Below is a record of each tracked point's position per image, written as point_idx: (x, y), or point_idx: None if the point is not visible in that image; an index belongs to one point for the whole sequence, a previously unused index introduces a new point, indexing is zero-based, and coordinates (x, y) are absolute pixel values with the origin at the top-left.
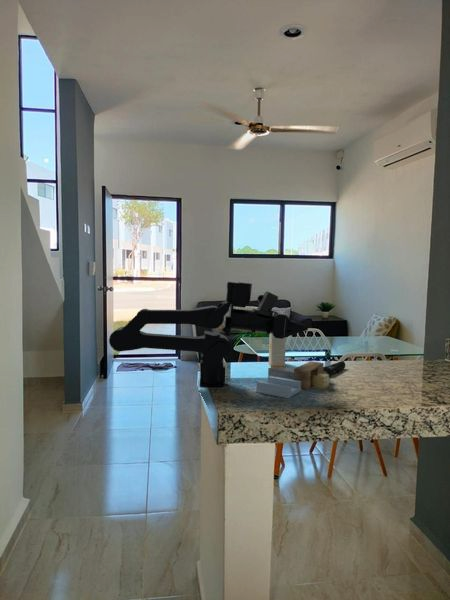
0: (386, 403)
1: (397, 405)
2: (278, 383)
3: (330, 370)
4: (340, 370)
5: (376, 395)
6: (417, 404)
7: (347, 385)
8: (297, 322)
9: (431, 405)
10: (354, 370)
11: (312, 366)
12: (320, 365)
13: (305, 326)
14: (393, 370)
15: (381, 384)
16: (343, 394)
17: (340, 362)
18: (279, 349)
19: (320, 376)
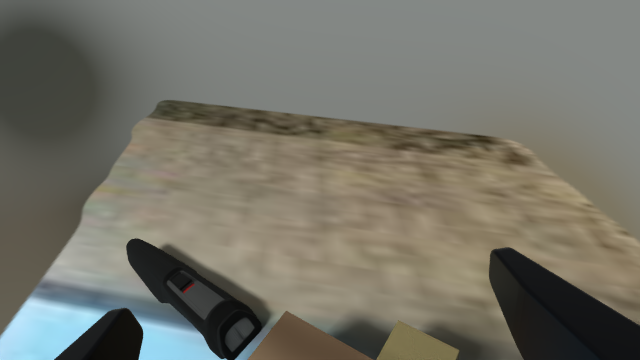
0: (552, 219)
1: (558, 202)
2: None
3: (237, 301)
4: (191, 268)
5: (472, 227)
6: (521, 169)
7: (369, 280)
8: (113, 322)
9: (515, 152)
10: (182, 232)
11: None
12: (321, 333)
13: (533, 271)
14: (209, 162)
15: (345, 200)
16: None
17: (149, 250)
18: None
19: None
